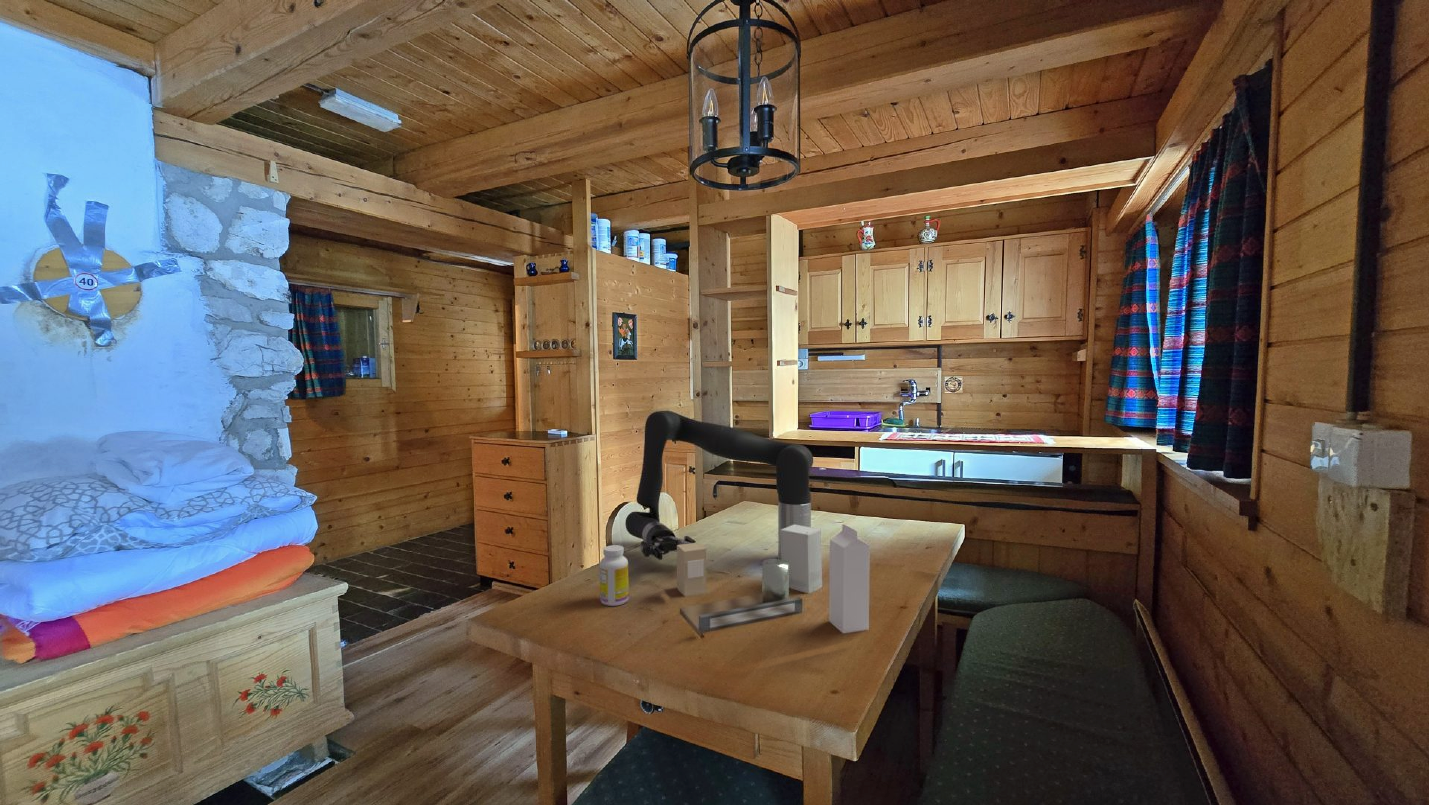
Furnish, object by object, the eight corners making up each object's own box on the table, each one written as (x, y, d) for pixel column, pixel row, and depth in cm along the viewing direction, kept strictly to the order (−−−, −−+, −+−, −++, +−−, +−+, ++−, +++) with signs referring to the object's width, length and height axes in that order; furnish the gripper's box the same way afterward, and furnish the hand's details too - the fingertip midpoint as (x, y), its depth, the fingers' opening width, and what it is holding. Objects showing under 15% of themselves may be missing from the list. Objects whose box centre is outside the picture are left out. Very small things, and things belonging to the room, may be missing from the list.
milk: (843, 639, 116) (843, 532, 114) (828, 626, 121) (829, 524, 120) (869, 635, 117) (870, 529, 116) (854, 622, 123) (854, 522, 122)
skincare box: (822, 591, 141) (823, 529, 140) (807, 599, 136) (808, 534, 135) (794, 582, 146) (795, 523, 146) (779, 590, 142) (779, 528, 141)
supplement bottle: (631, 596, 138) (631, 544, 137) (624, 607, 132) (624, 552, 131) (604, 595, 139) (604, 543, 138) (596, 606, 132) (595, 552, 132)
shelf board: (773, 596, 138) (773, 579, 137) (802, 618, 126) (802, 599, 125) (679, 613, 128) (679, 594, 128) (701, 638, 116) (701, 618, 116)
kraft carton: (697, 589, 142) (697, 542, 141) (706, 598, 137) (706, 548, 136) (677, 593, 140) (676, 545, 139) (684, 601, 135) (684, 551, 134)
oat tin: (780, 599, 133) (780, 557, 132) (793, 609, 127) (794, 565, 127) (757, 603, 130) (757, 560, 130) (769, 614, 125) (770, 569, 124)
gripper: (633, 527, 160) (650, 543, 145) (681, 521, 165) (702, 536, 150) (634, 553, 160) (650, 572, 145) (682, 547, 166) (702, 564, 151)
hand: (676, 554), depth 148 cm, fingers open, 8 cm apart
